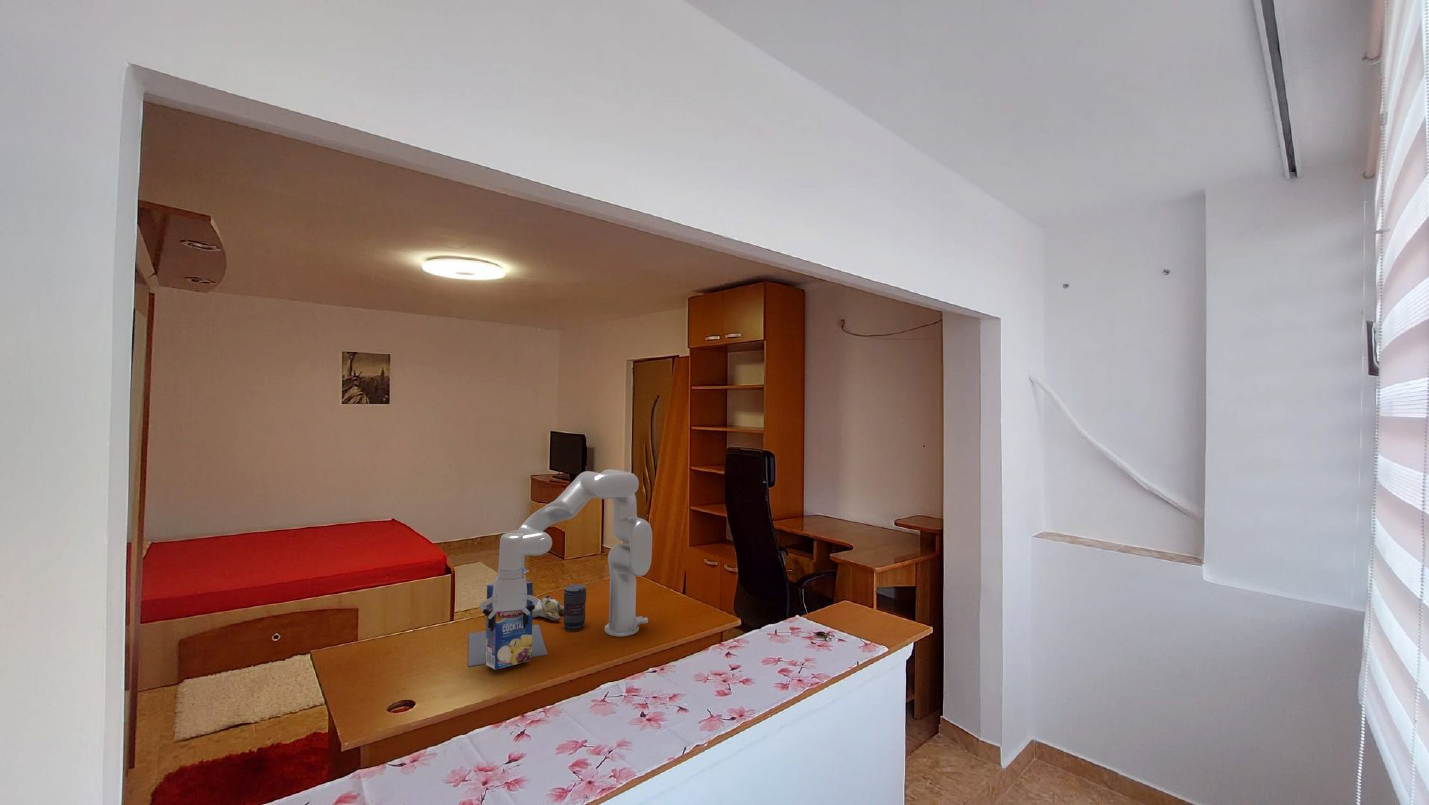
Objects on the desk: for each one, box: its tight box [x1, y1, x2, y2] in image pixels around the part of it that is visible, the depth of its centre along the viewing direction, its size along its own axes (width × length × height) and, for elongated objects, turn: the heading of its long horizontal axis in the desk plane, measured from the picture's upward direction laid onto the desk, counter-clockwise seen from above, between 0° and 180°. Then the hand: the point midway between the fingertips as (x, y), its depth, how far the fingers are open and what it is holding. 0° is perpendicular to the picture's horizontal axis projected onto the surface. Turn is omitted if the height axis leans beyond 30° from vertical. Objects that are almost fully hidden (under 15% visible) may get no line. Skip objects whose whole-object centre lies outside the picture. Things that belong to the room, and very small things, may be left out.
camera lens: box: [562, 584, 587, 632], centre depth 209 cm, size 8×8×15 cm
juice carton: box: [484, 580, 534, 670], centre depth 180 cm, size 12×8×24 cm, turn 134°
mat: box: [467, 623, 548, 668], centre depth 194 cm, size 24×26×1 cm
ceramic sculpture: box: [532, 595, 564, 622], centre depth 218 cm, size 11×9×15 cm
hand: (508, 628), depth 176 cm, fingers open, 9 cm apart
